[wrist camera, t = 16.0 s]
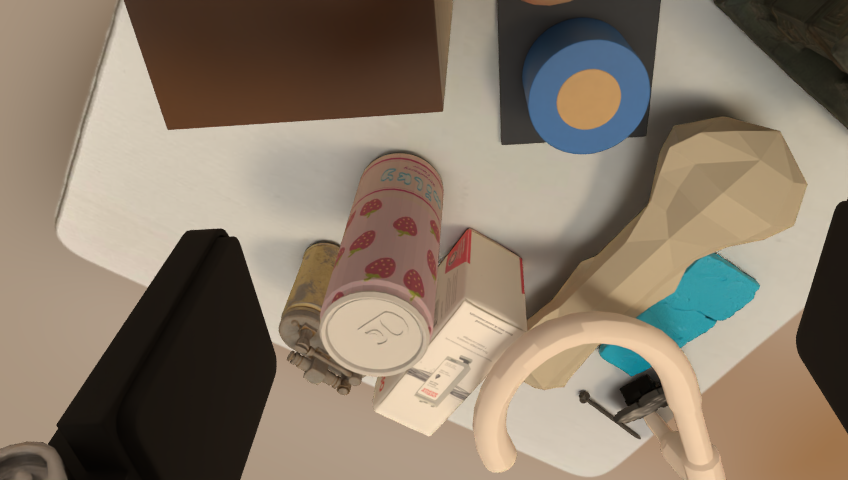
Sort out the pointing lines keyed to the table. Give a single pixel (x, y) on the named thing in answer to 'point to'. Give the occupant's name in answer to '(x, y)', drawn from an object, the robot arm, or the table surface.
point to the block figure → (640, 399)
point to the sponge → (690, 307)
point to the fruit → (546, 2)
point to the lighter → (313, 321)
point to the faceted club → (681, 225)
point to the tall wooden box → (292, 58)
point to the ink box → (459, 334)
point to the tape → (584, 86)
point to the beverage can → (386, 270)
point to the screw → (604, 412)
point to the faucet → (546, 340)
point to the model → (802, 43)
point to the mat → (523, 23)
